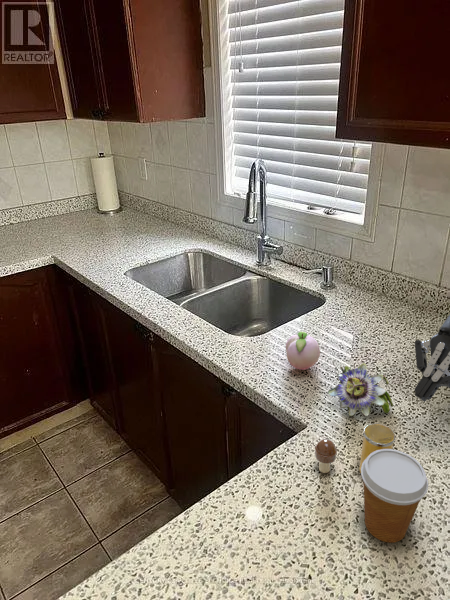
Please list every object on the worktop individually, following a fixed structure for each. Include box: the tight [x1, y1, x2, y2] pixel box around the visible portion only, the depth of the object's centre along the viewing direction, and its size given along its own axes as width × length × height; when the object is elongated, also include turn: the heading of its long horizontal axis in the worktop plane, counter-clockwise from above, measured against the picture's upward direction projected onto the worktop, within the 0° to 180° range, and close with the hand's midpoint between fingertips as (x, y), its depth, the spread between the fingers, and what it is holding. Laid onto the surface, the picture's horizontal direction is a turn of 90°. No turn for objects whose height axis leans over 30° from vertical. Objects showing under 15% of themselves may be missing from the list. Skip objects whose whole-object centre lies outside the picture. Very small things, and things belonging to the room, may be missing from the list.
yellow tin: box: [358, 423, 396, 474], centre depth 79 cm, size 5×5×9 cm
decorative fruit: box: [285, 331, 321, 370], centre depth 109 cm, size 9×8×10 cm
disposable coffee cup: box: [360, 449, 429, 544], centre depth 69 cm, size 10×10×12 cm
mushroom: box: [314, 438, 338, 474], centre depth 81 cm, size 4×4×7 cm
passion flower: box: [327, 362, 394, 417], centre depth 97 cm, size 11×11×12 cm
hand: (419, 398), depth 81 cm, fingers closed
